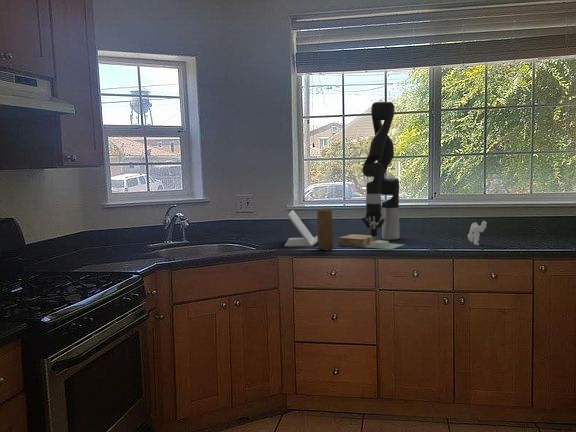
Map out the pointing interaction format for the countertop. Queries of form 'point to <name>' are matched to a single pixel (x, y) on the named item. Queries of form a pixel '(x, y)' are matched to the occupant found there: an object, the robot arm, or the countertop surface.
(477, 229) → the figurine
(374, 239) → the board
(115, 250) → the countertop surface
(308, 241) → the tablet stand
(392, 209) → the robot arm
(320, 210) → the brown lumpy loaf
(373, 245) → the pale grey rectangular block
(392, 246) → the mat
